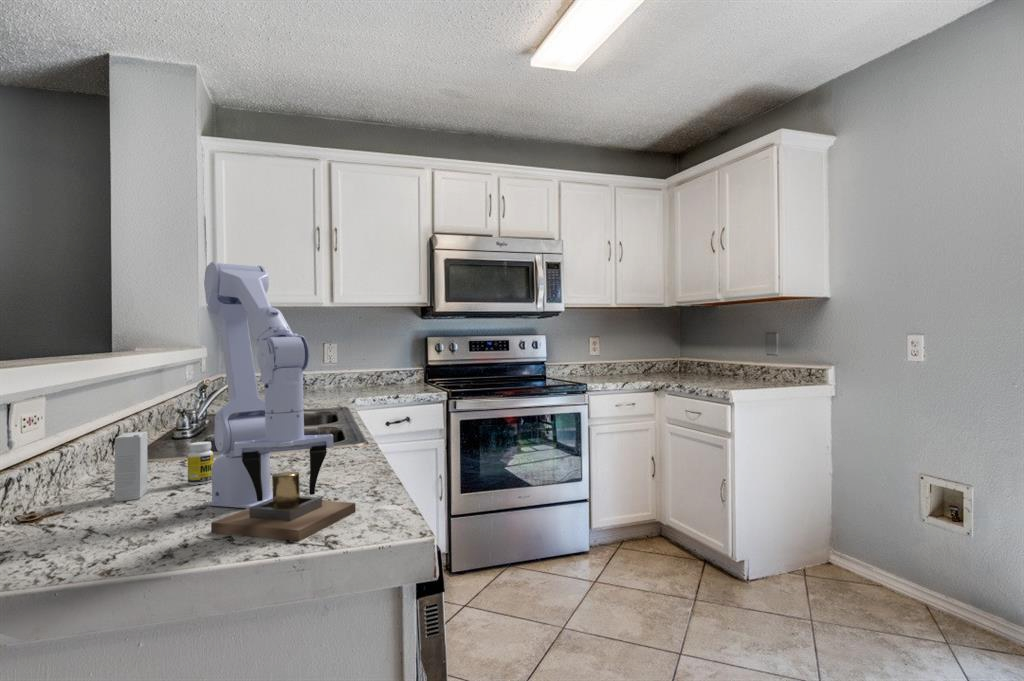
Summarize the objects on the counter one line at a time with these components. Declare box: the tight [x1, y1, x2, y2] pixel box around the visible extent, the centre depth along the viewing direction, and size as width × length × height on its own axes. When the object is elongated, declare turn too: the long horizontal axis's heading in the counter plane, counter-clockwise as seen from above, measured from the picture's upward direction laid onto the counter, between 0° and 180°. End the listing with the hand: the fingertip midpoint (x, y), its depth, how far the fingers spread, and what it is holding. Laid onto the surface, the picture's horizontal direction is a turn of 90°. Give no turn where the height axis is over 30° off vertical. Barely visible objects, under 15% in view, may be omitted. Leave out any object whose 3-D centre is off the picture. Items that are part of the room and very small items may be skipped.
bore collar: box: [249, 495, 323, 521], centre depth 87 cm, size 8×8×2 cm
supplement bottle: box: [187, 441, 214, 486], centre depth 116 cm, size 5×5×8 cm
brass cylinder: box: [271, 471, 301, 509], centre depth 87 cm, size 4×4×6 cm
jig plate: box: [210, 499, 356, 542], centre depth 87 cm, size 16×14×2 cm
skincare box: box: [114, 431, 148, 502], centre depth 105 cm, size 6×4×12 cm
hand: (286, 496), depth 87 cm, fingers open, 7 cm apart
